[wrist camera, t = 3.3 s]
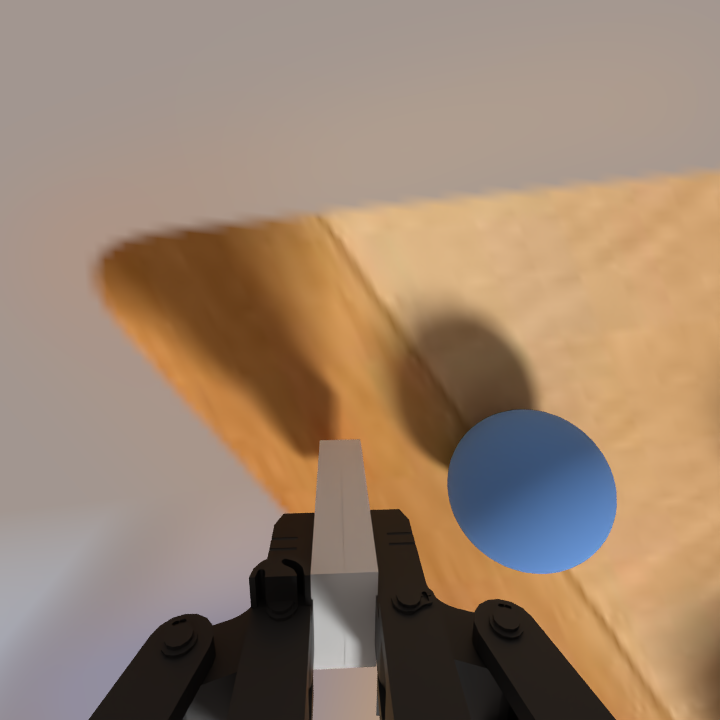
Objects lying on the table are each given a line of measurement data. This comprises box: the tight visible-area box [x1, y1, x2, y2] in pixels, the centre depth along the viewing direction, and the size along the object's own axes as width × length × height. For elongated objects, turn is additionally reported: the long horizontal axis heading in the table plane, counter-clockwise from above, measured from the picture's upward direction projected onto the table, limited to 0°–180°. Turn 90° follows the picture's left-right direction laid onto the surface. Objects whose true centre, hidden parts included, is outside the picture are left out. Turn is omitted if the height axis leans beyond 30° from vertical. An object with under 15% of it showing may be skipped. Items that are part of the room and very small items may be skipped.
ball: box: [448, 409, 617, 574], centre depth 15 cm, size 6×6×6 cm
